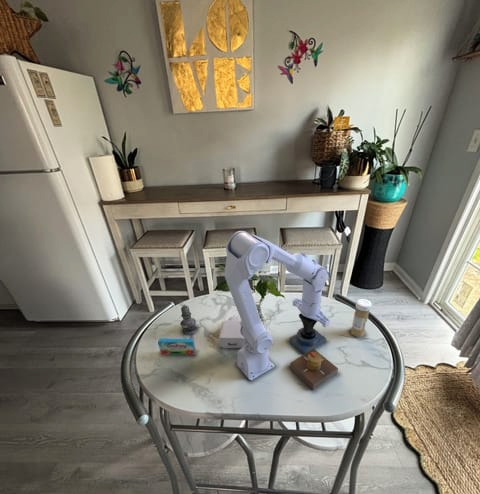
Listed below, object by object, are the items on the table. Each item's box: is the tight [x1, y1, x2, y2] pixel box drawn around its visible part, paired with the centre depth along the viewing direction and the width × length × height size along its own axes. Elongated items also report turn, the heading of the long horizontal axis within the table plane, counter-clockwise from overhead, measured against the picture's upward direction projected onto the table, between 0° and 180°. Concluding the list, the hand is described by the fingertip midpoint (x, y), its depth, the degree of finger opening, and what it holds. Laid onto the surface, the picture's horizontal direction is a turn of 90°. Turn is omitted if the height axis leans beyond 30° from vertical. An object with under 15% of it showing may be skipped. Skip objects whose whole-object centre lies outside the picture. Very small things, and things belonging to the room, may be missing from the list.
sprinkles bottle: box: [350, 298, 372, 338], centre depth 93 cm, size 5×5×14 cm
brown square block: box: [289, 348, 339, 391], centre depth 83 cm, size 10×10×3 cm
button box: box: [288, 326, 327, 355], centre depth 94 cm, size 10×8×4 cm
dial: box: [307, 352, 322, 370], centre depth 82 cm, size 4×4×4 cm
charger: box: [218, 314, 245, 349], centre depth 99 cm, size 5×9×15 cm
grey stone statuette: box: [179, 304, 198, 335], centre depth 101 cm, size 6×6×12 cm
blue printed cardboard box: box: [157, 337, 197, 356], centre depth 92 cm, size 12×2×6 cm, turn 85°
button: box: [301, 327, 316, 339], centre depth 93 cm, size 4×4×2 cm
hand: (308, 331), depth 92 cm, fingers closed, pressing on button
